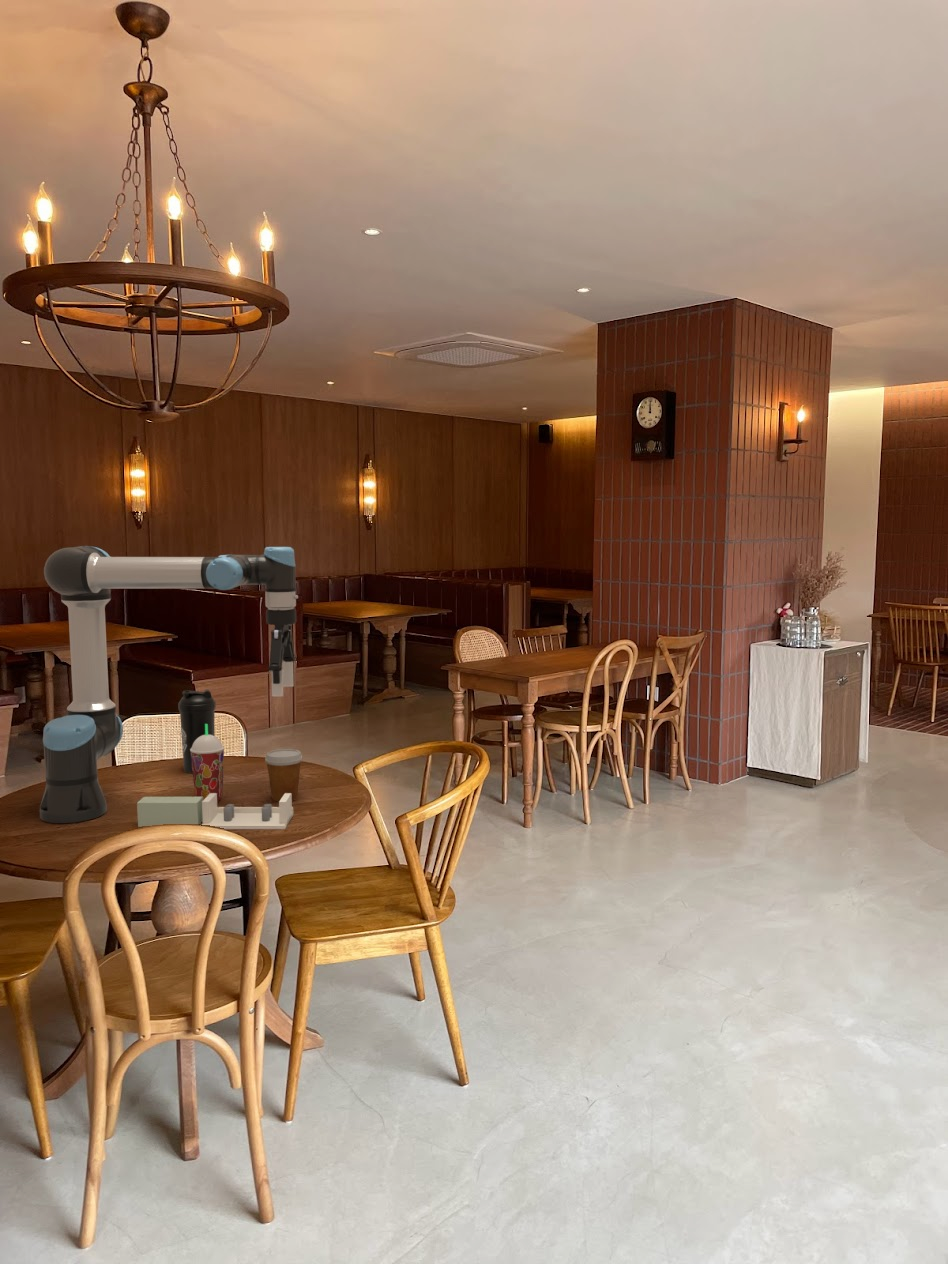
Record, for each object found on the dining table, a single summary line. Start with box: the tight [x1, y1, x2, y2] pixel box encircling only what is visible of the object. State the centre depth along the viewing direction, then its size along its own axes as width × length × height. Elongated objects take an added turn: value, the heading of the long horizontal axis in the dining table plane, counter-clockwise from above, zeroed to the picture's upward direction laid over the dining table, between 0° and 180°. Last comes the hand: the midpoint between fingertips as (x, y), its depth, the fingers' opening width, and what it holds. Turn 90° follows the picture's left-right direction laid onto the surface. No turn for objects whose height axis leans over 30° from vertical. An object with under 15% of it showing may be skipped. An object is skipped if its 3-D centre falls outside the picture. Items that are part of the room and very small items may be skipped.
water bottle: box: [177, 689, 216, 775], centre depth 272 cm, size 10×10×23 cm
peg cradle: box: [201, 793, 294, 830], centre depth 227 cm, size 20×11×6 cm, turn 90°
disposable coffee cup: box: [264, 748, 303, 803], centre depth 245 cm, size 10×10×12 cm
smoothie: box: [190, 724, 225, 803], centre depth 243 cm, size 8×8×20 cm
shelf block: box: [136, 796, 203, 828], centre depth 226 cm, size 14×5×6 cm, turn 90°
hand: (283, 691), depth 243 cm, fingers open, 13 cm apart
